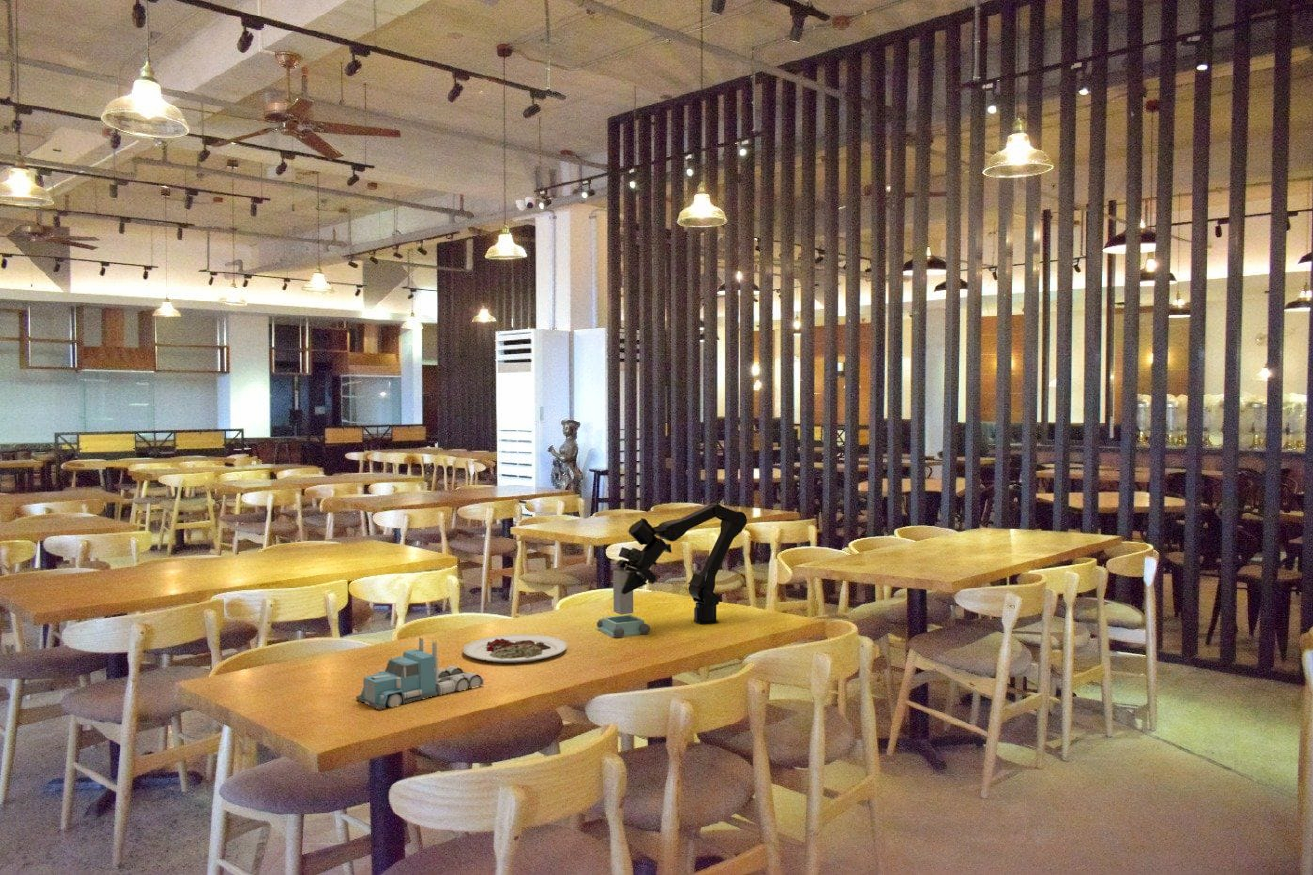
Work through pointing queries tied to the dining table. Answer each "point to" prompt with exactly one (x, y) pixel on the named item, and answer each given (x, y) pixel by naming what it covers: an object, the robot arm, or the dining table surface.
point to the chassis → (622, 626)
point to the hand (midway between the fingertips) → (619, 592)
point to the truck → (414, 679)
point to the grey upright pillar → (622, 601)
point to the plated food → (515, 648)
